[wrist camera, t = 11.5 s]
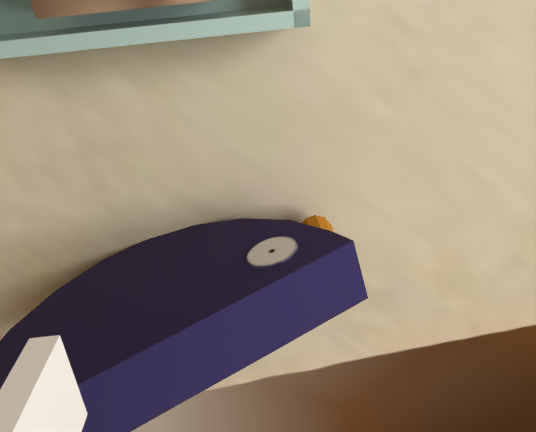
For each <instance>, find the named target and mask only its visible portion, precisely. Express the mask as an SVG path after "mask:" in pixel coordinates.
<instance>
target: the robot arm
mask: <svg viewBox="0 0 536 432" xmlns="http://www.w3.org/2000/svg"><path fill="white" fill-rule="evenodd" d="M86 417H87V411H86V408H85V405H84V402H83V399H82V397H81V394H80V391H79V388H78V385H77V382H76V380H75V377H74V374H73V371H72V368H71V365H70V363H69V360H68V357H67V354H66V351H65V348H64V345H63V343H62V340H61V337H60V335H56V336H47V337H38V338H29V340H28V342H27V343H26V345H25V347H24V349H23V350H22V352H21V354H20V356H19V358H18V359H17V361H16V363H15V365H14V366H13V368H12V370H11V372H10V373H9V375H8V377H7V379H6V380H5V382H4V384H3V386H2V387H1V389H0V432H82V429H83V426H84V423H85V420H86Z"/></svg>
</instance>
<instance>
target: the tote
mask: <svg viewBox="0 0 536 432" xmlns="http://www.w3.org/2000/svg"><path fill="white" fill-rule="evenodd" d="M308 26H310V12H309V0H217V1H207V2H198V3H188V4H178V5H169V6H159V7H150V8H140V9H131V10H121V11H112V12H102V13H92V14H83V15H73V16H64V17H54V18H45V19H36V18H35V14H34V11H33V7H32V3H31V0H0V59H4V58H14V57H23V56H33V55H42V54H52V53H61V52H71V51H80V50H90V49H99V48H109V47H118V46H128V45H137V44H147V43H156V42H166V41H175V40H185V39H194V38H204V37H213V36H223V35H232V34H242V33H251V32H261V31H270V30H280V29H289V28H299V27H308Z"/></svg>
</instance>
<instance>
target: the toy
mask: <svg viewBox="0 0 536 432" xmlns="http://www.w3.org/2000/svg"><path fill="white" fill-rule="evenodd" d="M367 298H368V296H367V292H366V288H365V285H364V281H363V277H362V273H361V269H360V265H359V261H358V257H357V253H356V250H355V246H354V242H353V240H350V239H348V238H346V237H343V236H341V235H339V234H336V233H334V231H333V229H332V226H331V224H330V223H329V222H328V221H327V220H326V218H325V217H321V216H316V215H314V216H311V217H308V218H306V219H305V220H304V222H303V223H298V222H294V221H291V220H270V219H236V220H229V221H222V222H215V223H208V224H201V225H195V226H191V227H188V228H185V229H181V230H178V231H175V232H171V233H168V234H165V235H161V236H158V237H155V238H151V239H148V240H146V241H144V242H141V243H139V244H137V245H135V246H133V247H131V248H128V249H126V250H124V251H122V252H120V253H118V254H116V255H113V256H111V257H109V258H107V259H105V260H103V261H101V262H99V263H98V264H96V265H95V266H93V267H92V268H90V269H89V270H87V271H86V272H84V273H82V274H81V275H79V276H78V277H76V278H75V279H73V280H72V281H70V282H68V283H67V284H65V285H64V286H62V287H61V288H59V289H58V290H56V291H55V292H54V293H52V294H51V295H50V296H49V297H48V298H47V299H45V300H44V301H43V302H42V303H41V304H40V305H38V306H37V307H36V308H35V309H34V310H32V311H31V312H30V313H29V314H28V315H27V316H25V317H24V318H23V319H22V320H21V321H20V322H18V323H17V324H16V325H15V326H14V327H12V328H11V329H10V330H9V331H8V332H7V334H6V335H5V336H4V337H3V338H2V339H1V340H0V389H1V387H2V386H3V384H4V382H5V380H6V379H7V377H8V375H9V373H10V372H11V370H12V368H13V366H14V365H15V363H16V361H17V359H18V358H19V356H20V354H21V352H22V350H23V349H24V347H25V345H26V343H27V342H28V340H29V338H38V337H47V336H56V335H60V337H61V340H62V343H63V345H64V348H65V351H66V354H67V357H68V360H69V363H70V365H71V368H72V371H73V374H74V377H75V380H76V382H77V385H78V388H79V391H80V394H81V397H82V399H83V402H84V405H85V408H86V411H87V417H86V420H85V423H84V426H83V429H82V432H131V431H132V430H134V429H136V428H138V427H139V426H141V425H143V424H145V423H147V422H148V421H150V420H152V419H154V418H156V417H157V416H159V415H161V414H163V413H164V412H166V411H168V410H170V409H172V408H173V407H175V406H177V405H179V404H180V403H182V402H184V401H186V400H187V399H189V398H191V397H193V396H195V395H197V394H198V393H200V392H202V391H204V390H205V389H207V388H209V387H211V386H213V385H214V384H216V383H218V382H220V381H222V380H223V379H225V378H227V377H229V376H231V375H232V374H234V373H236V372H238V371H240V370H241V369H243V368H245V367H247V366H248V365H250V364H252V363H254V362H256V361H257V360H259V359H261V358H263V357H264V356H266V355H268V354H270V353H272V352H273V351H275V350H277V349H279V348H280V347H282V346H284V345H286V344H288V343H289V342H291V341H293V340H295V339H296V338H298V337H300V336H302V335H303V334H305V333H307V332H309V331H310V330H312V329H314V328H316V327H318V326H319V325H321V324H323V323H325V322H326V321H328V320H330V319H332V318H333V317H335V316H337V315H339V314H341V313H342V312H344V311H346V310H348V309H349V308H351V307H353V306H355V305H356V304H358V303H360V302H362V301H364V300H365V299H367Z"/></svg>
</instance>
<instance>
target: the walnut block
mask: <svg viewBox="0 0 536 432" xmlns="http://www.w3.org/2000/svg"><path fill="white" fill-rule="evenodd" d="M207 1H217V0H31V3H32V7H33V11H34V14H35V18H36V19H45V18H54V17H64V16H73V15H83V14H92V13H102V12H112V11H121V10H131V9H140V8H150V7H159V6H169V5H178V4H188V3H198V2H207Z"/></svg>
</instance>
